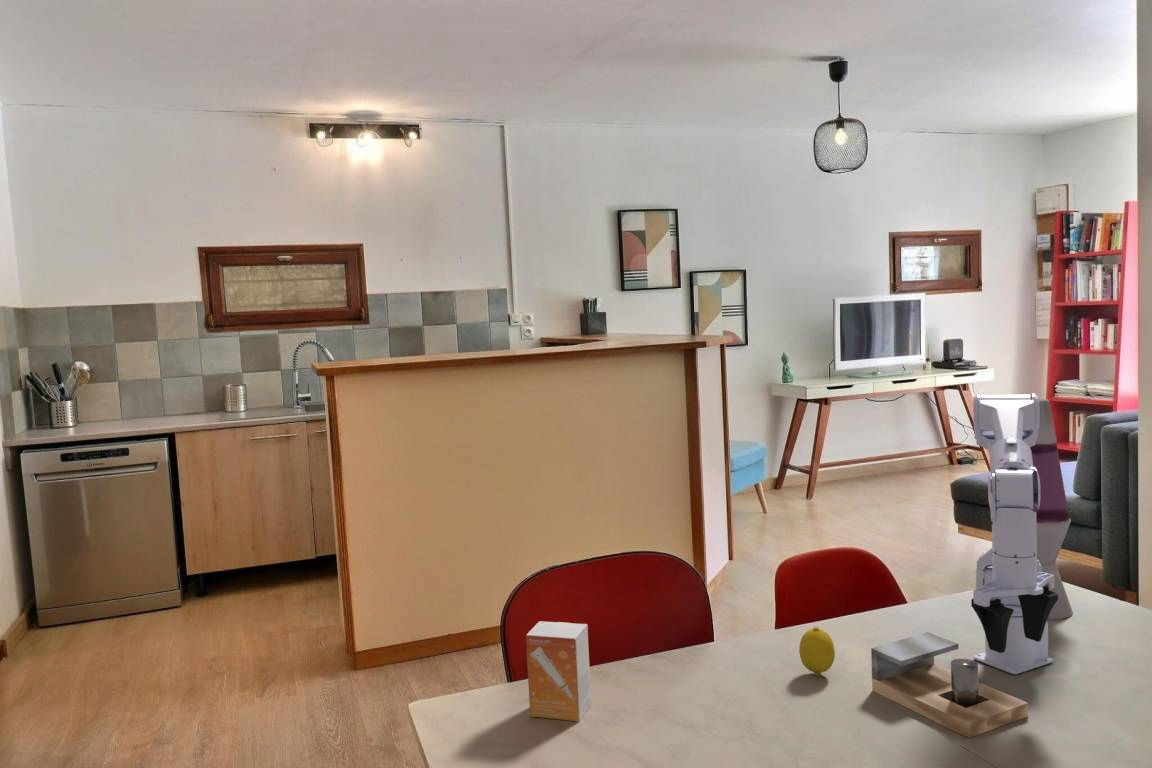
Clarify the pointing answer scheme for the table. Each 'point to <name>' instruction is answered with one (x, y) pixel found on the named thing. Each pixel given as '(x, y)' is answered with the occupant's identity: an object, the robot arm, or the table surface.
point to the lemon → (817, 650)
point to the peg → (964, 682)
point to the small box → (558, 670)
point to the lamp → (1050, 507)
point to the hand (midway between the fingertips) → (1015, 644)
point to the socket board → (937, 686)
